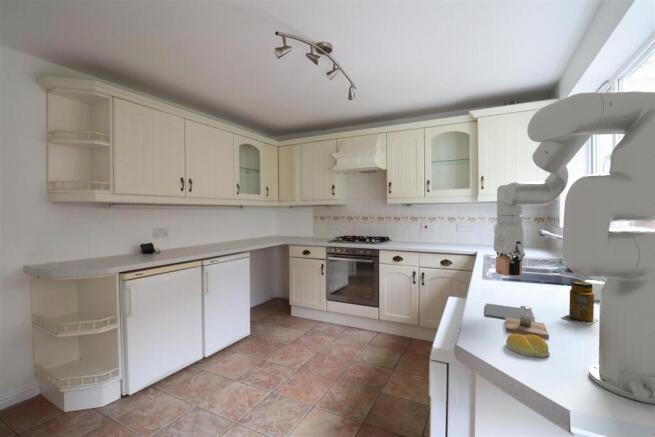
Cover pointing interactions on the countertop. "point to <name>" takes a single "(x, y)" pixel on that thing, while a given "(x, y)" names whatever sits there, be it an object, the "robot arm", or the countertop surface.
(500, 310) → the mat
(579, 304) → the condiment
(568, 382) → the countertop surface
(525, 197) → the robot arm
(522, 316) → the post
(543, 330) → the post base
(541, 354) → the bread roll
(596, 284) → the shot glass
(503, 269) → the peach rounded block
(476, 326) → the countertop surface
